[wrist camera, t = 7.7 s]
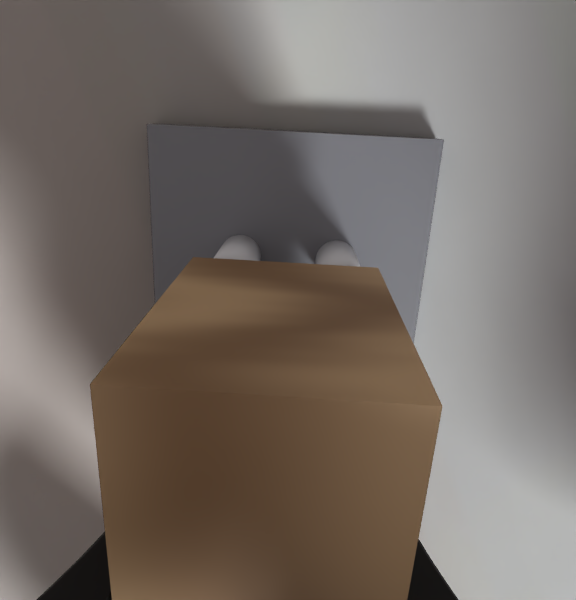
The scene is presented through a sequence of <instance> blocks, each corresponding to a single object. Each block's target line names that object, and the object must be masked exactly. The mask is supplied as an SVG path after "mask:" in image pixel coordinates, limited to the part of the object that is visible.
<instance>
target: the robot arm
mask: <svg viewBox="0 0 576 600" xmlns="http://www.w3.org/2000/svg"><path fill="white" fill-rule="evenodd" d="M37 600H112V596H111V586H110V576H109V566H108V557H107V547H106V537H105V532H104V533H103V534H102V535H101V536H100V537H99V538H98V539H97V541H96V542H95V543H94V544H93V545H92V546H91V547H90V548H89V549H88V550H87V551H86V552H85V553H84V554H83V555H82V556H81V557H80V558H79V559H78V560H77V561H76V562H75V563H74V564H73V565H72V566H71V567H70V568H69V569H68V570H67V571H66V572H65V573H64V574H63V575H62V576H61V577H60V578H59V579H58V580H57V581H56V582H55V583H54V584H53V585H52V586H51V587H50V588H49V589H48V590H46V591H45V592H44V593H43V594H42V595H41V596H40V597H39V598H38V599H37ZM407 600H458V598H457V597H456V596H455V594H454V593H453V591H452V590H451V588H450V587H449V585H448V584H447V582H446V581H445V579H444V578H443V576H442V575H441V573H440V572H439V571H438V569H437V568H436V566H435V565H434V563H433V561H432V560H431V558H430V557H429V555H428V554H427V552H426V550H425V549H424V547H423V545H422V544H421V542H420V540H419V539H418V543H417V549H416V554H415V560H414V565H413V571H412V576H411V582H410V587H409V593H408V598H407Z"/></svg>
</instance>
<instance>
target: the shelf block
mask: <svg viewBox="0 0 576 600" xmlns="http://www.w3.org/2000/svg"><path fill="white" fill-rule="evenodd" d="M90 389H91V399H92V409H93V419H94V429H95V439H96V448H97V458H98V468H99V478H100V488H101V498H102V507H103V517H104V527H105V537H106V547H107V557H108V566H109V576H110V586H111V596H112V600H407V598H408V593H409V587H410V582H411V576H412V571H413V565H414V560H415V554H416V549H417V543H418V538H419V532H420V527H421V521H422V516H423V510H424V505H425V499H426V494H427V488H428V483H429V477H430V472H431V466H432V461H433V455H434V450H435V444H436V439H437V433H438V427H439V422H440V416H441V411H442V404H441V402H440V400H439V398H438V396H437V394H436V391H435V389H434V387H433V385H432V383H431V381H430V378H429V376H428V374H427V372H426V370H425V368H424V366H423V363H422V361H421V359H420V357H419V355H418V353H417V350H416V348H415V346H414V344H413V342H412V340H411V337H410V335H409V333H408V331H407V329H406V327H405V324H404V322H403V320H402V318H401V316H400V314H399V312H398V309H397V307H396V305H395V303H394V301H393V299H392V296H391V294H390V292H389V290H388V288H387V286H386V283H385V281H384V279H383V277H382V275H381V273H380V271H379V268H375V267H357V266H340V265H323V264H305V263H288V262H271V261H253V260H236V259H218V258H201V257H193V258H192V259H191V260H190V262H189V263H188V264H187V265H186V266H185V268H184V269H183V270H182V271H181V273H180V274H179V275H178V276H177V278H176V279H175V280H174V281H173V283H172V284H171V285H170V286H169V287H168V289H167V290H166V291H165V292H164V294H163V295H162V296H161V297H160V299H159V300H158V301H157V302H156V303H155V305H154V306H153V307H152V308H151V310H150V311H149V312H148V313H147V315H146V316H145V317H144V318H143V319H142V321H141V322H140V323H139V324H138V326H137V327H136V328H135V329H134V331H133V332H132V333H131V334H130V336H129V337H128V338H127V339H126V340H125V342H124V343H123V344H122V345H121V347H120V348H119V349H118V350H117V352H116V353H115V354H114V355H113V356H112V358H111V359H110V360H109V361H108V363H107V364H106V365H105V366H104V368H103V369H102V370H101V371H100V373H99V374H98V375H97V376H96V377H95V379H94V380H93V381H92V382H91V384H90Z"/></svg>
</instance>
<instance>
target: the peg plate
mask: <svg viewBox="0 0 576 600" xmlns="http://www.w3.org/2000/svg"><path fill="white" fill-rule="evenodd" d="M147 136H148V159H149V181H150V204H151V226H152V249H153V271H154V294H155V303H156V302H157V301H158V300H159V299H160V297H161V296H162V295H163V294H164V292H165V291H166V290H167V289H168V287H169V286H170V285H171V284H172V283H173V281H174V280H175V279H176V278H177V276H178V275H179V274H180V273H181V271H182V270H183V269H184V268H185V266H186V265H187V264H188V263H189V262H190V260H191V259H192V258H193V257H201V258H218V259H236V260H253V261H271V262H288V263H305V264H323V265H340V266H357V267H375V268H379V271H380V273H381V275H382V277H383V279H384V281H385V283H386V286H387V288H388V290H389V292H390V294H391V296H392V299H393V301H394V303H395V305H396V307H397V309H398V312H399V314H400V316H401V318H402V320H403V322H404V324H405V327H406V329H407V331H408V333H409V335H410V337H411V340H412V342H413V344H414V337H415V330H416V324H417V317H418V310H419V303H420V297H421V290H422V283H423V277H424V270H425V263H426V256H427V250H428V243H429V236H430V230H431V223H432V216H433V209H434V203H435V196H436V189H437V182H438V176H439V169H440V162H441V156H442V149H443V142H444V140H442V139H432V138H414V137H395V136H376V135H357V134H338V133H319V132H300V131H281V130H263V129H244V128H225V127H206V126H187V125H168V124H147Z"/></svg>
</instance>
